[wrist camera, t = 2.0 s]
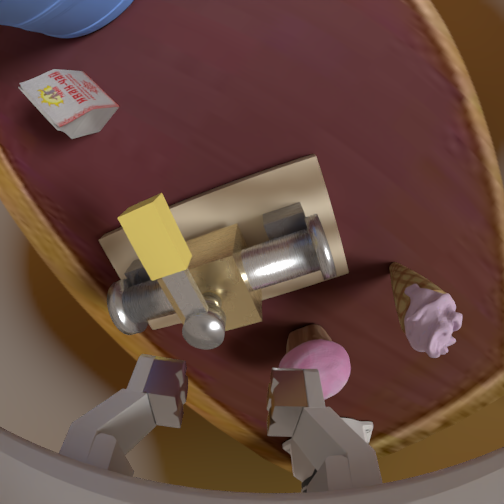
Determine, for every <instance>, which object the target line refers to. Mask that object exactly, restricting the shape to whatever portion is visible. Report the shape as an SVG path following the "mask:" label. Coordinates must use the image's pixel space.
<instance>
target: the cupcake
mask: <svg viewBox="0 0 504 504" xmlns="http://www.w3.org/2000/svg"><path fill="white" fill-rule="evenodd" d="M279 368H299V369H318V371H319V375H320V380H321V386H322V391H323V396H324V399H327V398H329V397H331V396H333V395H335V394H336V393H338V392H339V391H340V390H341V389H342V388H343V387H344V385H345V384H346V382H347V380H348V378H349V375H350V369H351V368H350V360H349V356H348V354H347V352H346V351H345V349H344V348H343V347H342V346H341V345H339V344H337V343H335V342H332V340H331V338H330V337H329V336H328V335H327V333H326V331H325V330H324V329H323V328H322V327H321V326H319V325H315V324H312V325H309V326H306V327H303V328H300V329H297V330H295V331H293V332H290V333H289V336H288V340H287V346H286V355H285V356H284V357H283V358H282V360H281V362H280V364H279Z"/></svg>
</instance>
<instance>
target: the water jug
mask: <svg viewBox="0 0 504 504" xmlns="http://www.w3.org/2000/svg"><path fill="white" fill-rule="evenodd" d="M133 1H134V0H0V25H6V26H12V27H17V28H21V29H24V30H28V31H33V32H39V33H43V34H45V35H48V36H53V37H57V38H75V37H80V36H83V35H86V34H89V33H92V32H94V31H96V30H98V29H100V28H102V27H103V26H105V25H107V24H108V23H110V22H111V21H112V20H114V19H115V18H116V17H118V16H119V15H120V14H121V13H122V12H123V11H124V10H125V9H126V8H127V7H128V6H129V5H130V4H131V3H132V2H133Z"/></svg>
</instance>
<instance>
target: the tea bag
mask: <svg viewBox="0 0 504 504" xmlns="http://www.w3.org/2000/svg"><path fill="white" fill-rule="evenodd" d="M20 85H21V87H22V88H21V87H18V88H19V89H20V90H21V91H22V92H23V93H24V94H25V96H26V97H27V98H28V99H29V100H30V101H31V102H32V103H33V104H34V106H35V107H36V108H37V109H38V110H39V111H40V112H41V113H42V114H43V115H44V117H45V118H46V119H47V120H48V121H49V122H50V123H51V124H52V125H53V126H54V127H55V128H56V129H57V130H58V131H62V132H64V133H66V134H67V135H68V136H69V137H70V138H71V139H74V138H77V137H81V136H85V135H89V134H93V133H96V132H100V130H101V129H102V128H103V127H104V125H105V124H106V123H107V121H108V120H109V119H110V118H111V116H112V115H113V114H114V113H115V112H116V110H117V109H118V108H119V107H120V106H119V105H117V104H116V103H115V102H114V101H113V100H112V99H111V98H110V97H109V96H108V95H107V94H106V93H105V92H104V91H103V90H102V89H101V88H100V87H99V86H98V85H97V84H96V83H95V82H94V81H93V80H92V79H91V78H90V77H89V76H88V75H86V74H85V73H84V72H83V71H73V70H59V69H53V70H51V71H49V72H46V73H44V74H42V75H40V76H37V77H35V78H33V79H30V80H28V81H25V82H22V83H20Z"/></svg>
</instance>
